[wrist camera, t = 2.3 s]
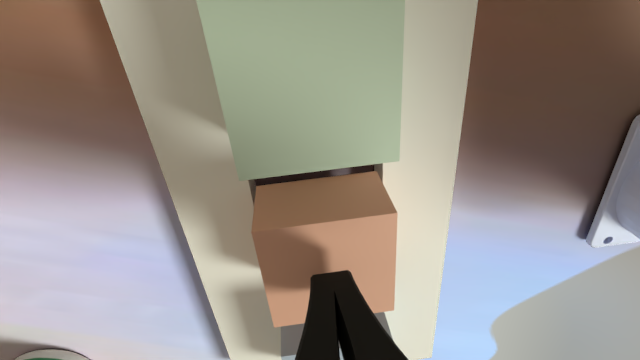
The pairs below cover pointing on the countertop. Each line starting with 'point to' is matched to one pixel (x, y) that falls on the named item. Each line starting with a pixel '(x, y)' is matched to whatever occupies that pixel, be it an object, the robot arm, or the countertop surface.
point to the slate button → (294, 333)
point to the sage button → (307, 82)
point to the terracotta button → (324, 240)
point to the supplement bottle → (51, 355)
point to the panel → (239, 196)
